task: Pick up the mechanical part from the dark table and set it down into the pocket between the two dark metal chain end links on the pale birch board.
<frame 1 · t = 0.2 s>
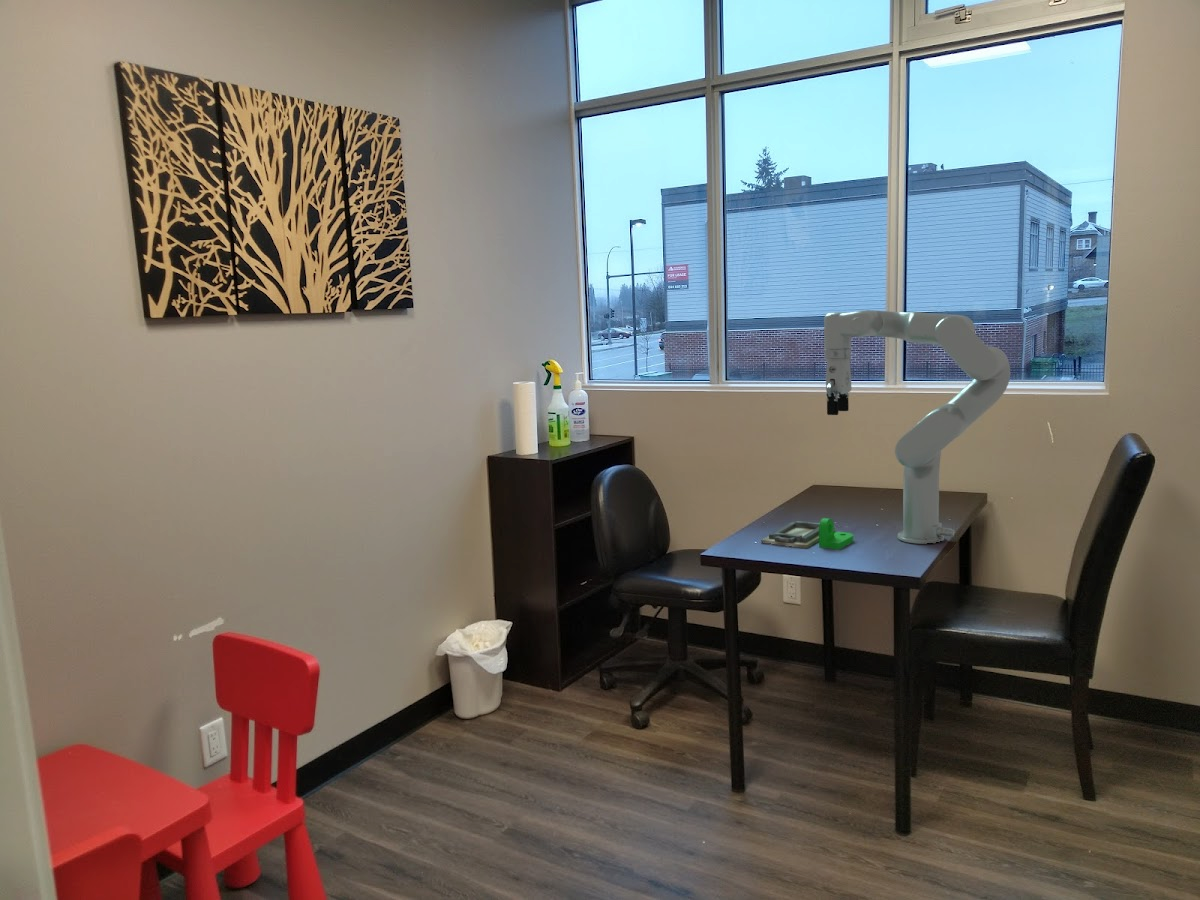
hand: (837, 412, 255), 36 cm above the table, tool pointing down, fingers open, 9 cm apart
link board: (798, 537, 256), on the table
mechanical part: (838, 544, 247), on the table
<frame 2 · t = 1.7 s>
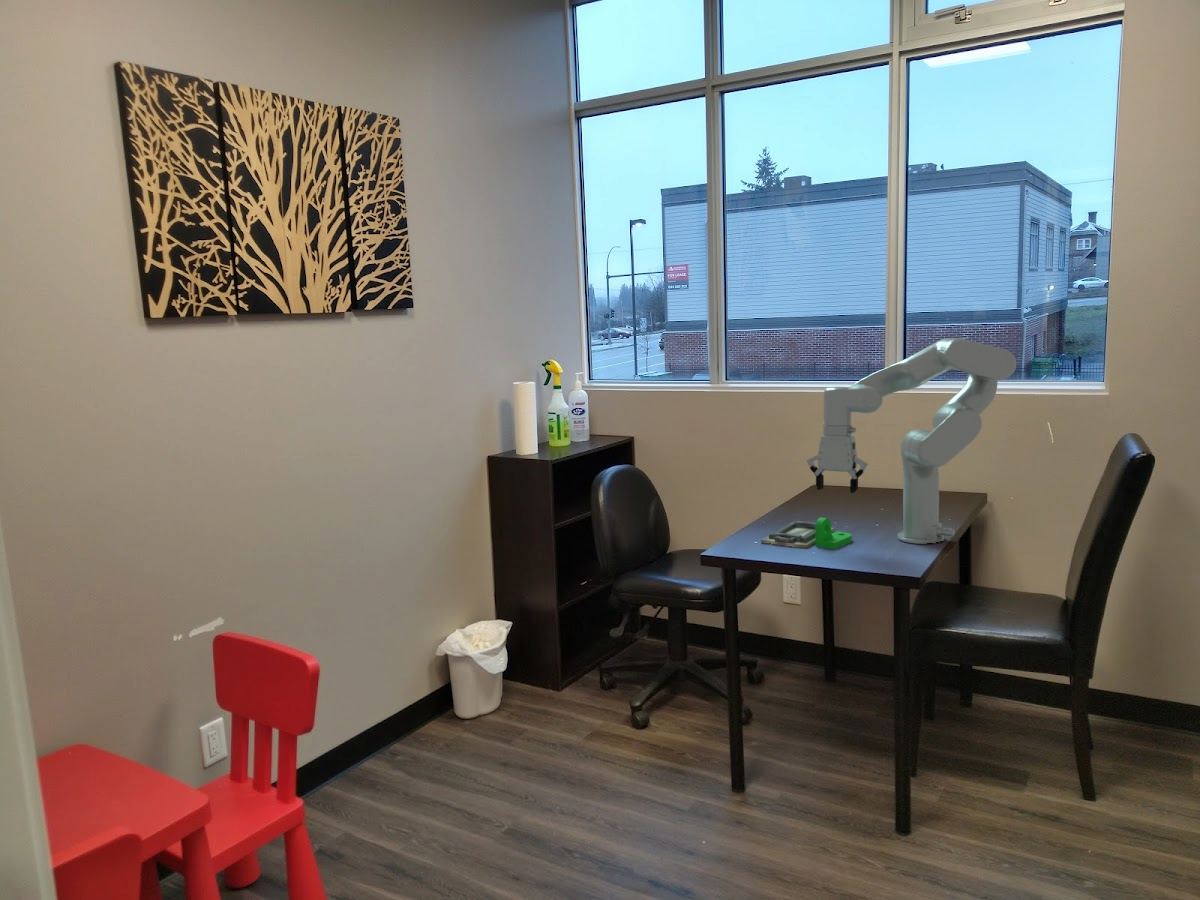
hand: (836, 490, 245), 15 cm above the table, tool pointing down, fingers open, 9 cm apart
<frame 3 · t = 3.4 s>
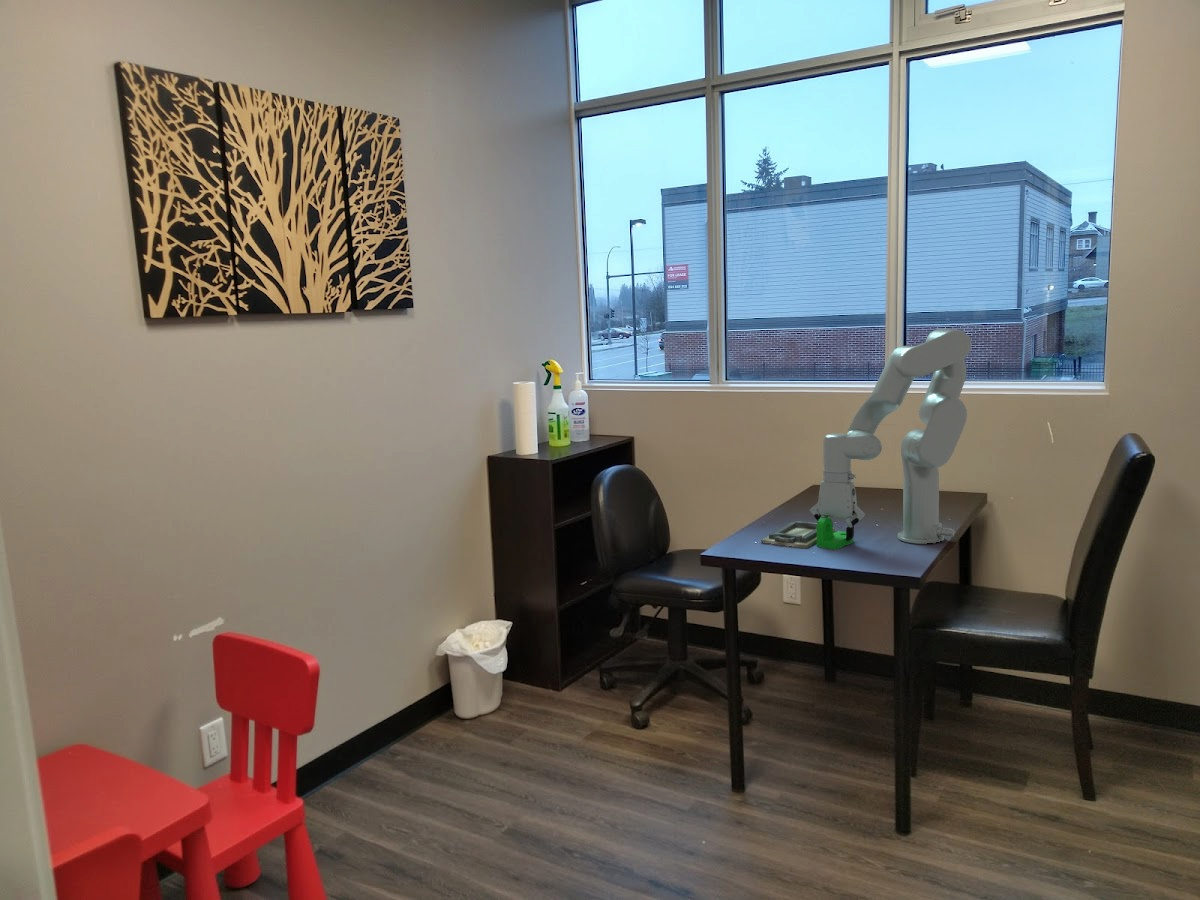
hand: (836, 537, 247), 2 cm above the table, tool pointing down, fingers closed on mechanical part, 6 cm apart
mechanical part: (837, 544, 247), on the table, touching gripper
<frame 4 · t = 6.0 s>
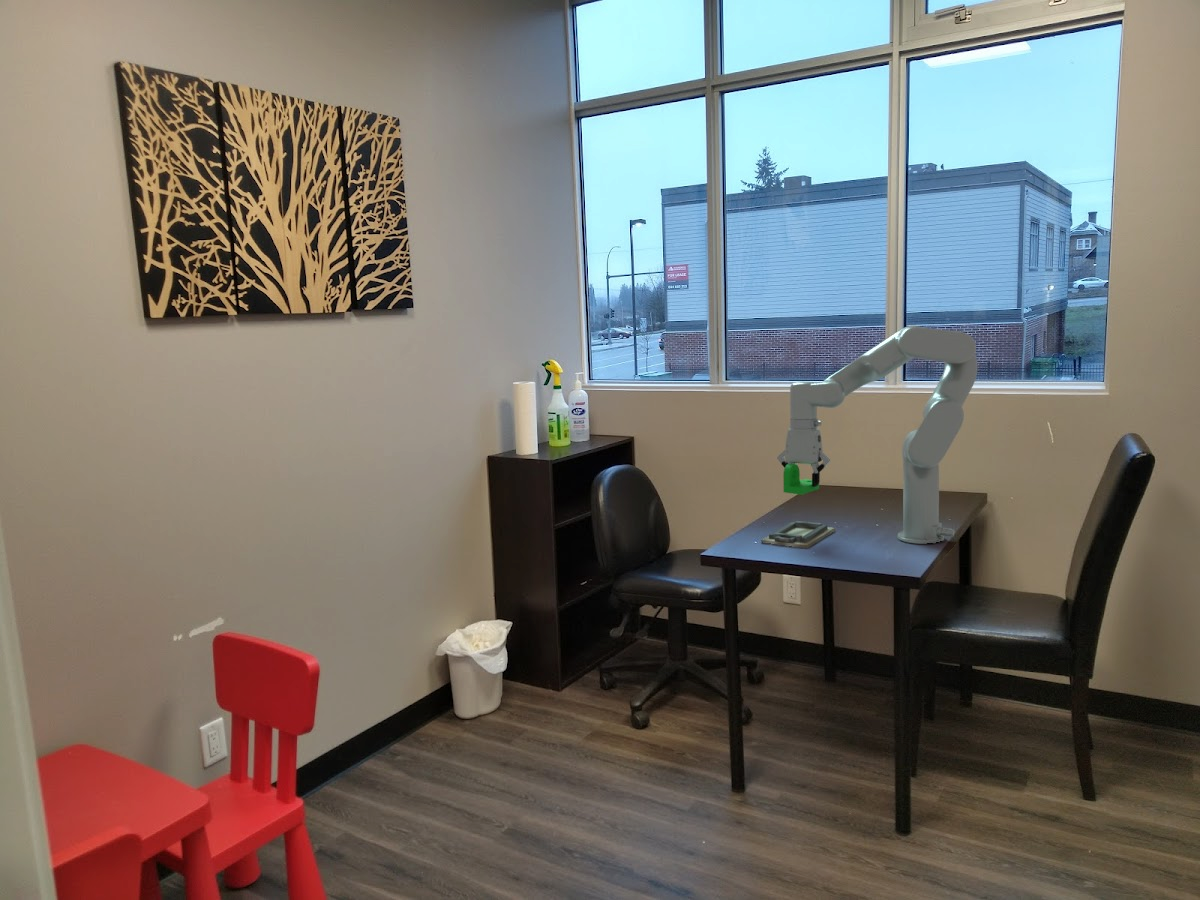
hand: (803, 484, 252), 16 cm above the table, tool pointing down, fingers closed on mechanical part, 6 cm apart
mechanical part: (803, 490, 252), point 14 cm above the table, touching gripper
when the fingers open (4 cm above the table, at t = 9.0 s): mechanical part drops 1 cm, resting on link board.
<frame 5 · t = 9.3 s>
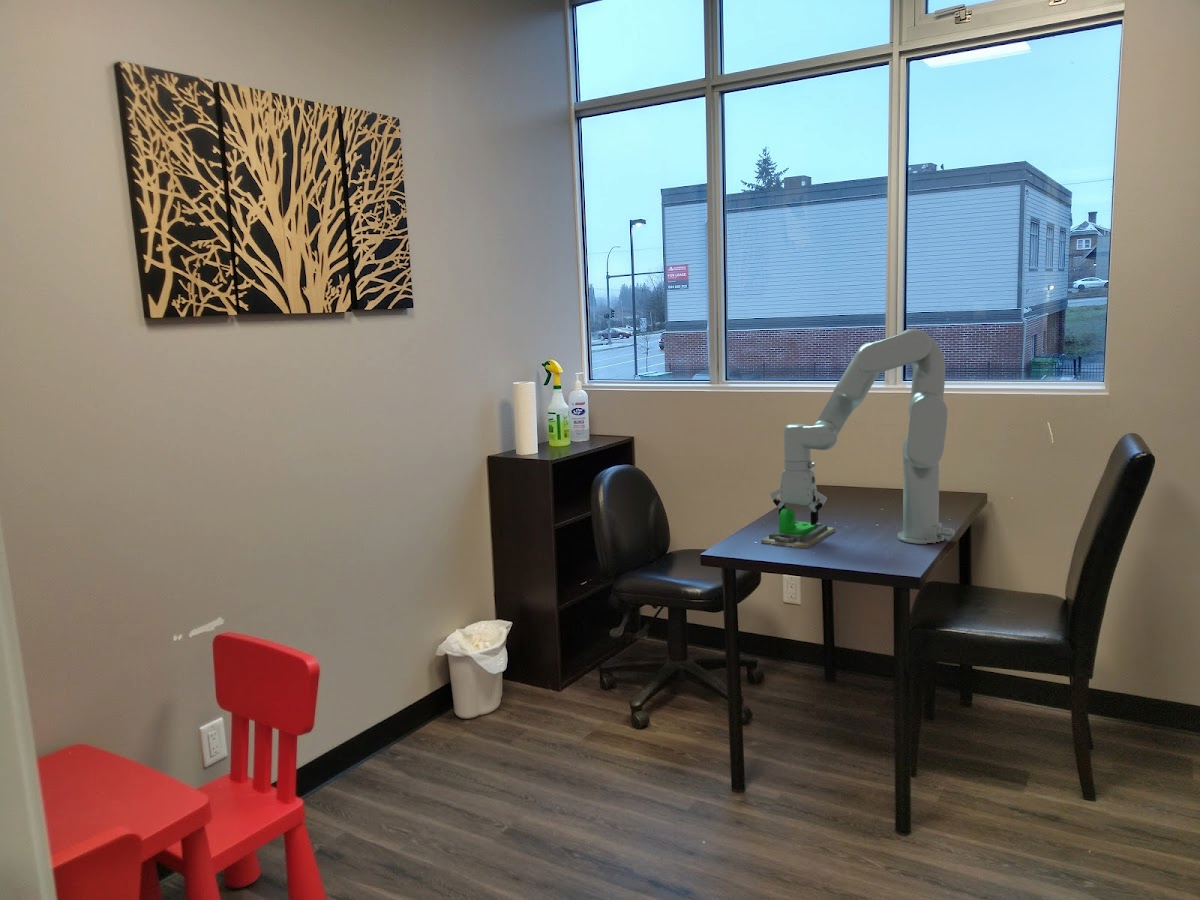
hand: (798, 522, 255), 4 cm above the table, tool pointing down, fingers open, 9 cm apart
mechanical part: (799, 534, 256), point 1 cm above the table, touching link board
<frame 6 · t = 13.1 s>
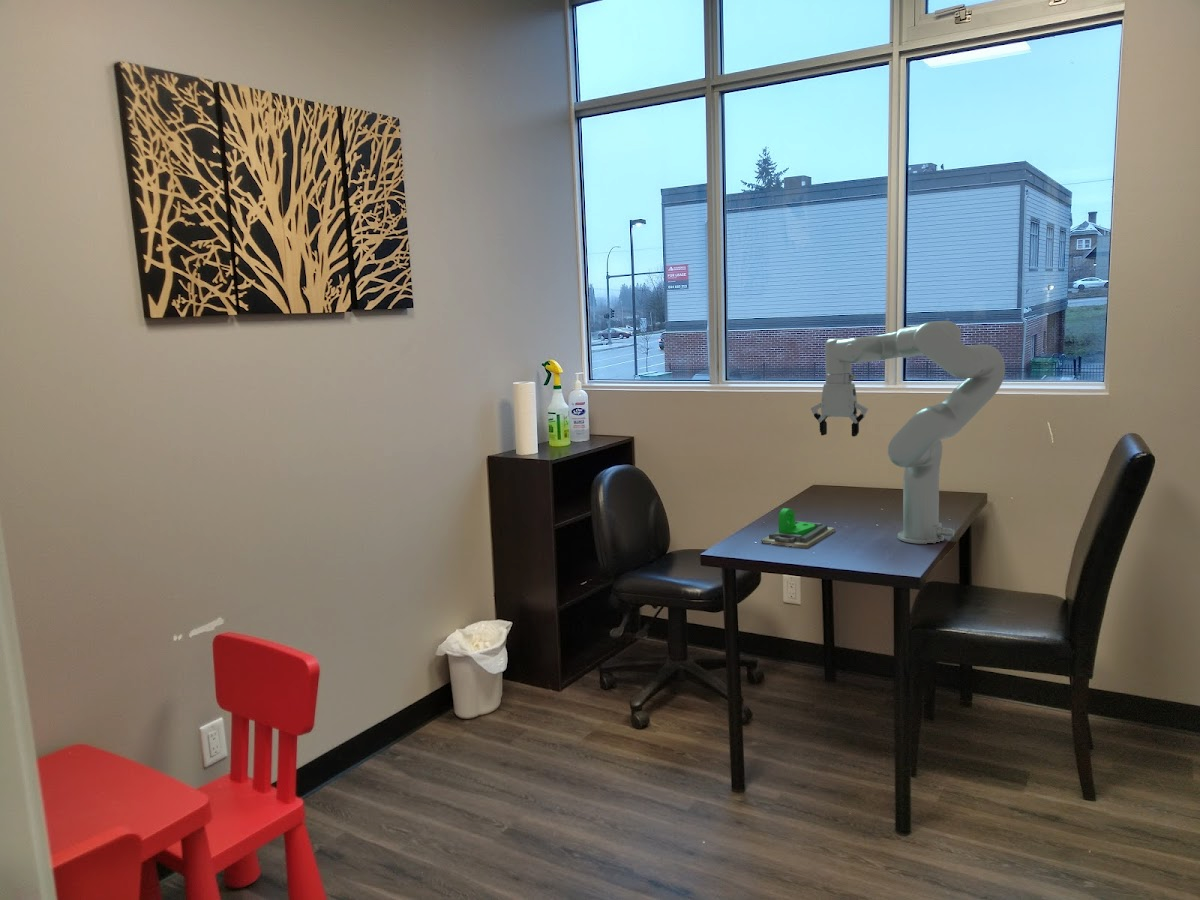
hand: (839, 435, 263), 28 cm above the table, tool pointing down, fingers open, 9 cm apart
nothing on the table moved.
at the end: mechanical part 0.2 cm off-centre on the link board, point 0.8 cm above the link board's base; mechanical part tilted 0°; the gripper is holding nothing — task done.
